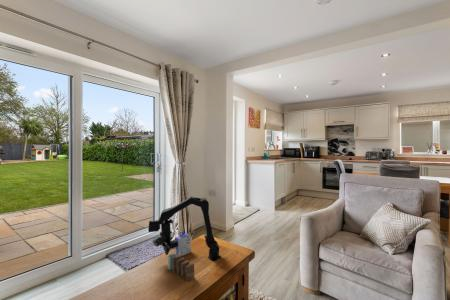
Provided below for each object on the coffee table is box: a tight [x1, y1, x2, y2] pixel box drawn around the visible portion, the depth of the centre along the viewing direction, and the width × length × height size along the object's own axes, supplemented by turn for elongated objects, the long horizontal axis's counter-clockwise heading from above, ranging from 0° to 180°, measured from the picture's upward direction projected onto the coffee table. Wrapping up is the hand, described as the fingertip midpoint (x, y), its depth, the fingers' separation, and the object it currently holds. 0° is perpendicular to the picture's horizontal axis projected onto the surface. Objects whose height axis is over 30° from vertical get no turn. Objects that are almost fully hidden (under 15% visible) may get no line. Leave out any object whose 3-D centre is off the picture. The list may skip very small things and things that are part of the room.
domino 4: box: [180, 260, 190, 279], centre depth 123 cm, size 2×5×8 cm, turn 136°
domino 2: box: [171, 255, 182, 273], centre depth 129 cm, size 2×5×8 cm, turn 136°
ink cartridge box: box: [174, 231, 192, 257], centre depth 150 cm, size 10×6×14 cm, turn 131°
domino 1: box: [167, 252, 177, 270], centre depth 132 cm, size 2×5×8 cm, turn 137°
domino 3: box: [176, 257, 186, 276], centre depth 126 cm, size 2×5×8 cm, turn 137°
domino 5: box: [185, 262, 196, 283], centre depth 120 cm, size 2×5×8 cm, turn 137°
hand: (166, 254), depth 137 cm, fingers closed
